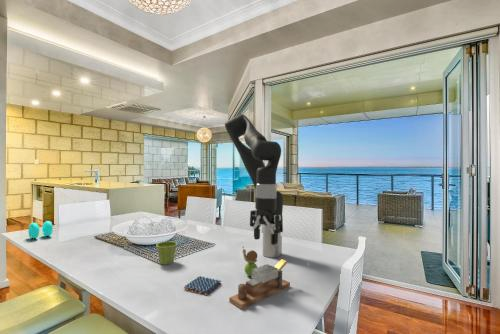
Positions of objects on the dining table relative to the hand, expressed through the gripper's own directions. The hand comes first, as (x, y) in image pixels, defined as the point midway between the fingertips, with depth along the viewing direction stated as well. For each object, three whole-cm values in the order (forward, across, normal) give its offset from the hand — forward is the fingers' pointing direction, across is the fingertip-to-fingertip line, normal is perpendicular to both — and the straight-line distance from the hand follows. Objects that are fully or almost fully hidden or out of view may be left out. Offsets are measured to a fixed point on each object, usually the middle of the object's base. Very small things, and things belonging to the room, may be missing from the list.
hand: (265, 241), depth 89 cm
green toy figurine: (+18, -14, +6) cm, 24 cm away
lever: (+12, 0, +6) cm, 13 cm away
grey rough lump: (+13, 0, 0) cm, 13 cm away
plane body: (+18, 0, -2) cm, 18 cm away
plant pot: (+18, -50, -14) cm, 55 cm away
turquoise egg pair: (+18, -140, -56) cm, 152 cm away
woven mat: (+19, -18, -14) cm, 30 cm away
